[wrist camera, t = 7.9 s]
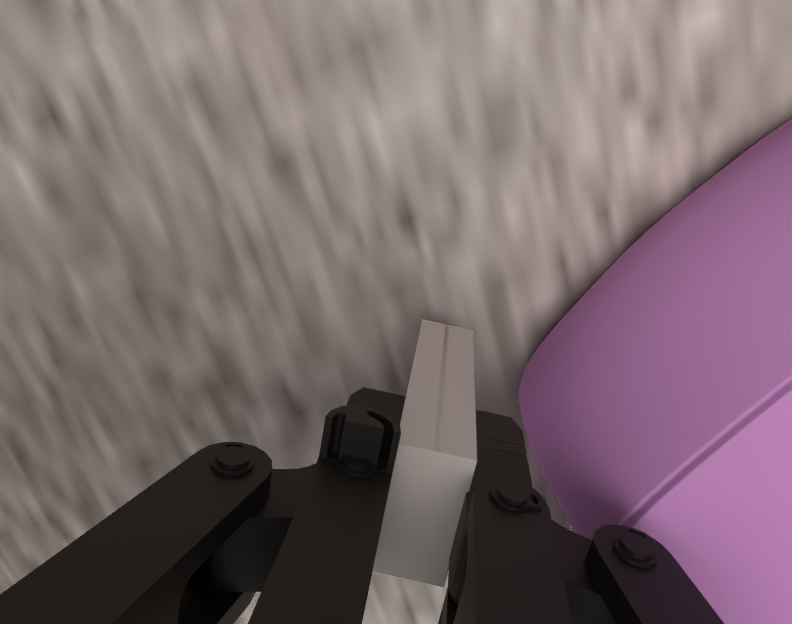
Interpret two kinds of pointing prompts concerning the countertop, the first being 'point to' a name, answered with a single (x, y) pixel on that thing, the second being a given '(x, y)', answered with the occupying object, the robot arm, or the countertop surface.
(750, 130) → the countertop surface
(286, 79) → the countertop surface
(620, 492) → the teapot
